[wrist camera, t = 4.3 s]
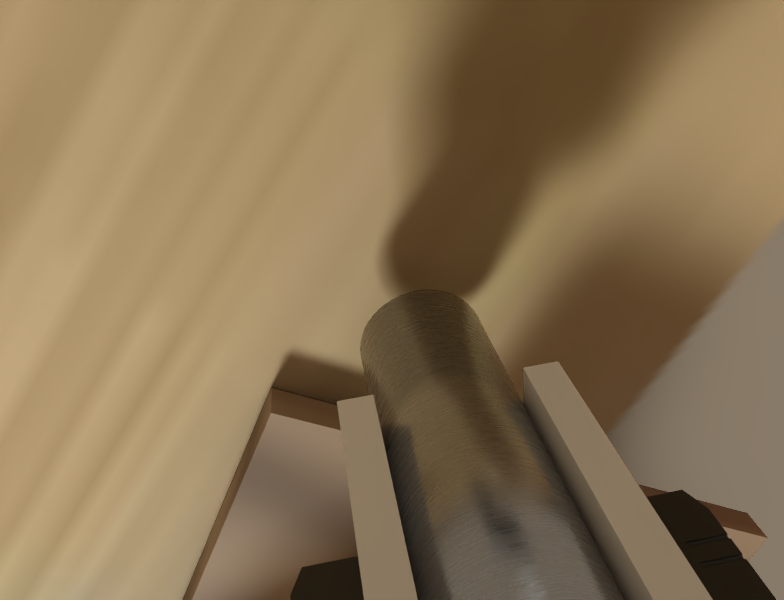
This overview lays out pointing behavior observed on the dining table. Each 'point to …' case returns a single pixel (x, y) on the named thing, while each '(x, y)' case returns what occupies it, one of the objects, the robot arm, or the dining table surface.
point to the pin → (471, 463)
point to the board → (311, 507)
